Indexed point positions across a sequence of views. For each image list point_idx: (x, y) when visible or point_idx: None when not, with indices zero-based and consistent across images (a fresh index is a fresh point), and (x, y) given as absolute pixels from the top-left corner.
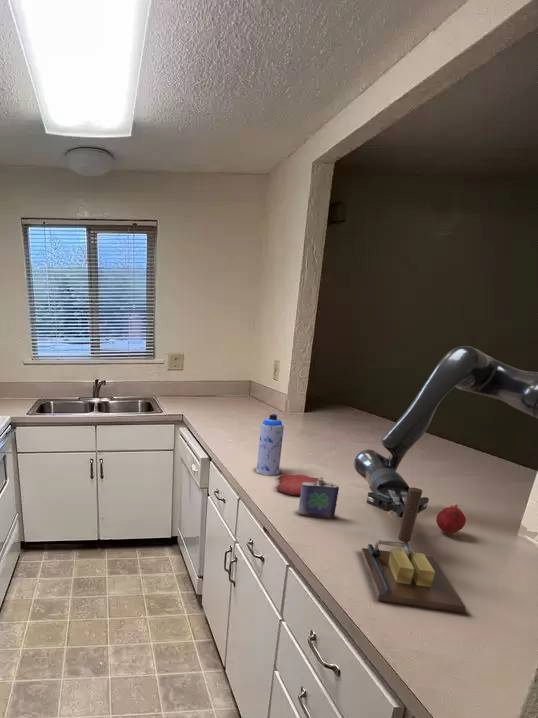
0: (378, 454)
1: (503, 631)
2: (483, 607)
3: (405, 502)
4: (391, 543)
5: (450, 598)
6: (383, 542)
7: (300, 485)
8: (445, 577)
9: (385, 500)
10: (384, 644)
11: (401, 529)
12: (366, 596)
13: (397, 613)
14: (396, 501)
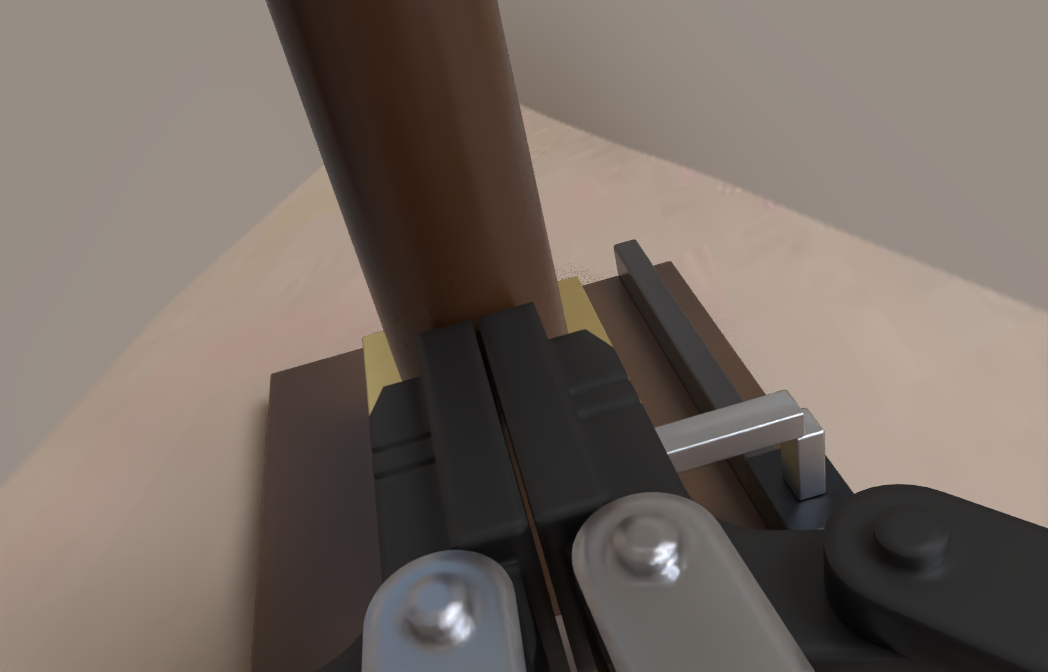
0: None
1: (165, 386)
2: (151, 504)
3: (481, 660)
4: (663, 427)
5: (319, 395)
6: (738, 404)
7: None
8: (261, 591)
9: (1000, 517)
10: (614, 154)
11: None
12: (733, 295)
13: (581, 274)
14: (717, 605)
